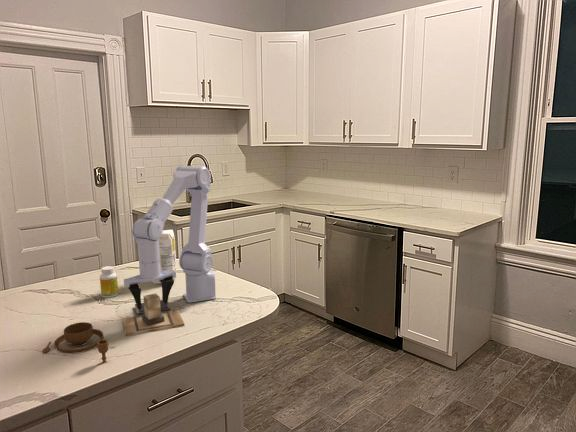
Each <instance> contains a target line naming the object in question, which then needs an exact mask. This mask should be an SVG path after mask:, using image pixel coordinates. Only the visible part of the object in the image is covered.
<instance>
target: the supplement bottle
mask: <svg viewBox="0 0 576 432" xmlns="http://www.w3.org/2000/svg"><path fill="white" fill-rule="evenodd" d="M100 272H101V274H100V276H99V284H100V295H101V297H102V298H105V299H107V298H109V299H111V298H113V297H114V298H115V297H116V296H118V294H119V287H118V275H117V273H116V272H115V267H114V266H111V265H107V266H103V267H101V269H100Z"/></svg>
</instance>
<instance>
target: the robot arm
mask: <svg viewBox="0 0 576 432" xmlns="http://www.w3.org/2000/svg"><path fill="white" fill-rule="evenodd" d="M172 176H173V178H172V179H173V180H172V182H171V183H170V184H169V187H168V188H167V190H166V191H165V193H164V195H163V196H162V198H157V199H155V200H154V201H153V202H152V205H151V206H150V208H149V209H148V210H147V212H146V213H145V214H144V215H143V217H142V218H138V219H137V220H135V222H134V223H133V225H132V229H131V234H132V236H133V237H134V239H135V244H136V245H137V254H138V255H137V256H138V268H139V274H136V275H135V276H131V277H127V278H124V279H123V285H124V288H127V289H128V290H129V291H130V292H131V295H132V296H133V299H134V302H135V304H136V306H137V308H138V309H139V310H140V309H141V308H142V306H141V303H142V300H141V297H142V296H141V294H142V289H141V288H140V285H141V284H142V285H143V284H147V283H152V281H157V280H161V284H160V285H161V294H162V296H161V297H162V298H161V300H163V302H164V303H165V304H166V303H169V301H168V300H169V297H170V292H171V290H172V288H173V286H174V284H175V279H176V278H177V270H176V271H175V270H167V271H161V270H160V255H159V238H160V237H161V236H162V233H163V231H164V227H165V223H166V222H167V220H168V219H169V217H170V216H171V214H172V212H173V211H174V208H173V205H174V204H175V203H176V201H177V200H178V199H179V198H180V196H181V195H182V194H183V193H184V191H187V192H188V193H189V194H190V196H191V201H190V202H191V203H190V216H189V217H190V218H189V227H188V228H189V230H188V231H189V232H188V242H187V243H186V244H184V246H182V248H181V253H180V256H179V260H178V263H179V267H180V269H182V272H183V273H184V274H185V293H183V296H184V298H185V300H186V302H187V303H189V304H191V303H196V302H203V301H204V302H205V301H209V300H215V299H217V296H216V278H215V272H214V270H212V267H213V257H212V249H211V248H210V247H209V246H208V245H207V244H206V242H205V241H206V231H207V229H206V228H207V216H208V203H209V192H210V190H211V179H212V178H211V176H212V173H211V172H210V170H209V168H208V167H206V166H195V165H192V166H191V165H184V164H183V165H182V164H181V165H178V166H177V168H176V169H175V171H174V172H173V175H172ZM173 278H175V279H174V280H173Z"/></svg>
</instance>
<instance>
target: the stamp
mask: <svg viewBox="0 0 576 432" xmlns="http://www.w3.org/2000/svg"><path fill="white" fill-rule="evenodd" d="M160 300H161V296H160V295H158V293H156V292H155V293H152V294H151V293H150V294H147V295H143V303H144V311H145V314H144V315H142V320H143V321H144V323H145V324H146V325H147V326H149V325H153V324H157V323H161V322H165V320H164V316H163V315H162V314H161V307H160Z"/></svg>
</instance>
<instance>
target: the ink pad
mask: <svg viewBox="0 0 576 432" xmlns="http://www.w3.org/2000/svg"><path fill="white" fill-rule="evenodd" d="M141 306H142V308H141V309H140V310H139V309H138V308H137V306H136V303H134V309H135V313H136V316H140V315H144V314H145V311H144V302H141ZM160 307H161V312H165V311H172V310H171V305H170V303H169V302H168V303H166V304H165V303H164V302H163V299H160Z"/></svg>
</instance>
